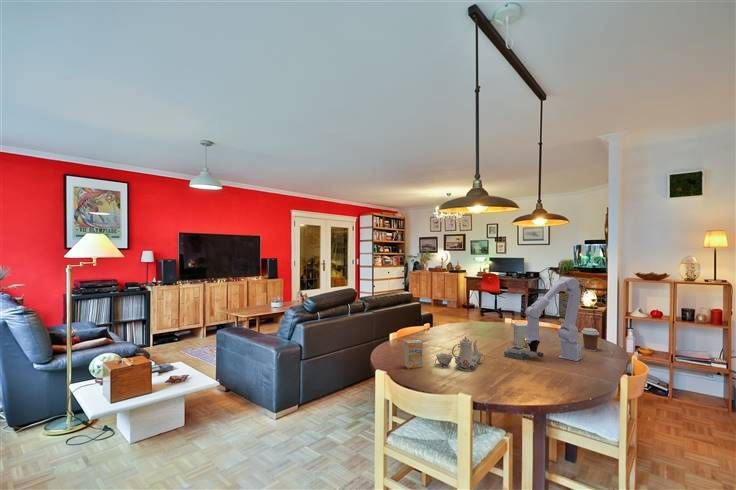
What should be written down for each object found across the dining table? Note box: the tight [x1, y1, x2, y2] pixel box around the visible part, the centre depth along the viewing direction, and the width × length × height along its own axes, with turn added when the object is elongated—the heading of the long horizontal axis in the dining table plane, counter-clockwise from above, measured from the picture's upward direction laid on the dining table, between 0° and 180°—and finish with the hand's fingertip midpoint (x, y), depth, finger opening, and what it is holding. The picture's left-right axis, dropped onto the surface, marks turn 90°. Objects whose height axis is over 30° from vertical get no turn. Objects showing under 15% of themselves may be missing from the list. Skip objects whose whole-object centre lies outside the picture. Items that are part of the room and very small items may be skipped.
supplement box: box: [404, 339, 423, 370], centre depth 184 cm, size 8×5×13 cm, turn 105°
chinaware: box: [434, 336, 486, 372], centre depth 184 cm, size 28×17×17 cm, turn 111°
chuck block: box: [503, 350, 531, 361], centre depth 200 cm, size 10×10×2 cm
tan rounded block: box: [521, 337, 530, 350], centre depth 205 cm, size 3×5×9 cm, turn 134°
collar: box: [507, 345, 544, 358], centre depth 196 cm, size 17×7×2 cm, turn 44°
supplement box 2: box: [512, 322, 528, 347], centre depth 225 cm, size 7×7×13 cm
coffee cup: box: [580, 327, 600, 352], centre depth 212 cm, size 9×9×12 cm
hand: (533, 353), depth 196 cm, fingers closed
